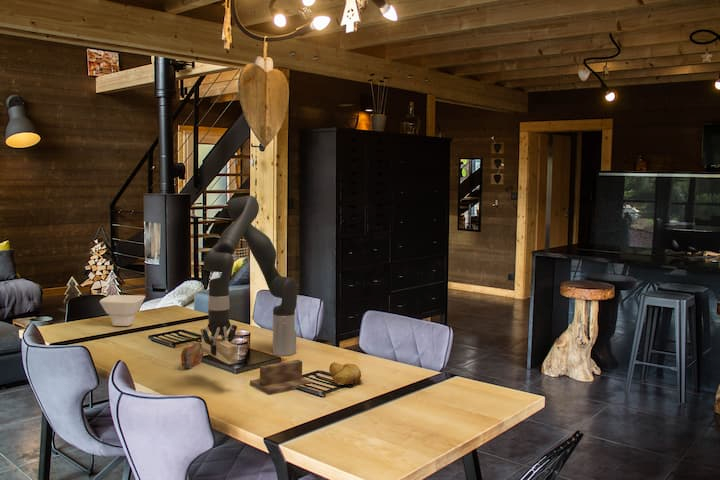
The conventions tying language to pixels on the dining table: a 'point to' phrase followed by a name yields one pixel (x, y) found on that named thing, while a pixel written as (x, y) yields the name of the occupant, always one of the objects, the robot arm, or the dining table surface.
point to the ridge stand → (280, 377)
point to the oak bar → (222, 350)
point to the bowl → (122, 308)
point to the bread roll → (345, 373)
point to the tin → (191, 355)
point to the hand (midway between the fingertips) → (219, 354)
